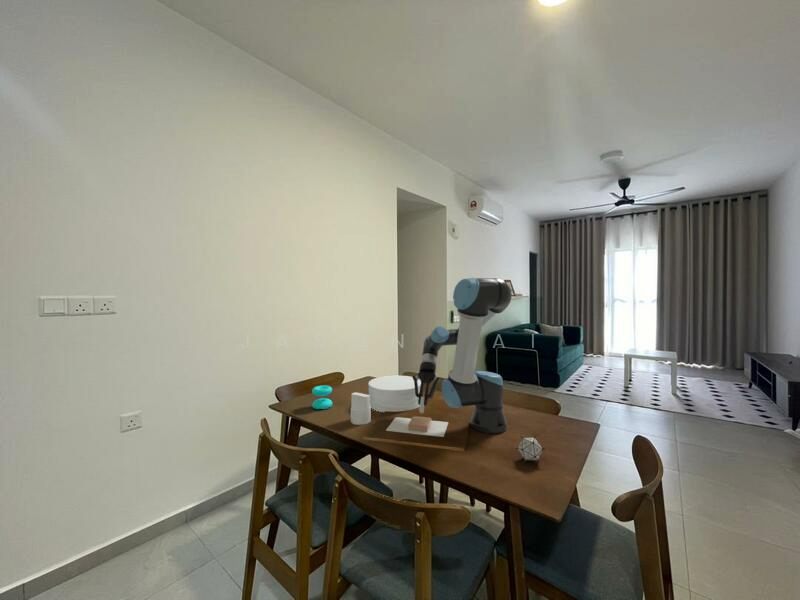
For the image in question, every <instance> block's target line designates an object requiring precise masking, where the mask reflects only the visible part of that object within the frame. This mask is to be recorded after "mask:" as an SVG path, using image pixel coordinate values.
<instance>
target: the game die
mask: <svg viewBox="0 0 800 600" xmlns="http://www.w3.org/2000/svg"><path fill="white" fill-rule="evenodd" d="M520 438H521V440H520V442H519V445H518V446H517V447H515V448H514V449H515V450H518V452H519V453H520V454H521V456H522V458H523V460H524V461H523V462H524V463H526V462H527V461H537V462H538V463H540V457H541V454H542V452H543V451H545V450H546V448H544V447H542V445H541V444H540V443H539V441H538V440H537V439H536V438H537V436H536V434H535V435H534V436H533V437H523V436H522V435H520Z"/></svg>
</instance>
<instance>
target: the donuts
mask: <svg viewBox="0 0 800 600" xmlns="http://www.w3.org/2000/svg"><path fill="white" fill-rule="evenodd" d="M311 392H312V393H311V394H312V395H314V396H316V397H322V398H317V399H315V400H314V401H313V402H312V403H311V406H312V408H313V409H315V410H318V409H323V410H327V409H330V408H331V407H332V406H333V401H332V400H331V399H329V398H323V397H326V396H329V395H330V394H331V393H333V388H332V387H331V386H329V385H317V386H314V387H313V388H312V389H311ZM329 407H330V408H329Z"/></svg>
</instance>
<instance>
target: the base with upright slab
mask: <svg viewBox="0 0 800 600" xmlns="http://www.w3.org/2000/svg"><path fill="white" fill-rule="evenodd" d="M350 395H351V403H350V404H351V407H350V423H352V424H353V425H356V426H357V425H358V426H361V425H367V424H369V423H371V421H372V419H371V418H372V417H371V415H372V414H371V413H372V411H371V410H372V409H371V407H370V395H369V394H365V393H361V392H353V393H351V394H350Z"/></svg>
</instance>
